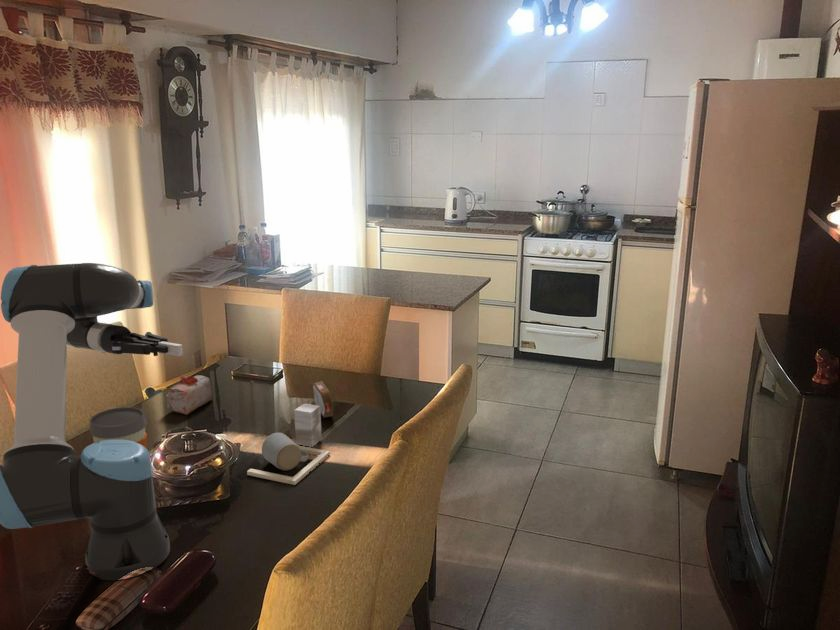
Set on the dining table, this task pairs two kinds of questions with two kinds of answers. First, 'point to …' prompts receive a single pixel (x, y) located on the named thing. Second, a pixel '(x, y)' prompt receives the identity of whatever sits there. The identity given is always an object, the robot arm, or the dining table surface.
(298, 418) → the grey block
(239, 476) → the dining table surface
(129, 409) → the reusable coffee cup
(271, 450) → the ceramic mug
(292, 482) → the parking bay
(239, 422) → the dining table surface
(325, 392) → the tin
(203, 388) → the food item
